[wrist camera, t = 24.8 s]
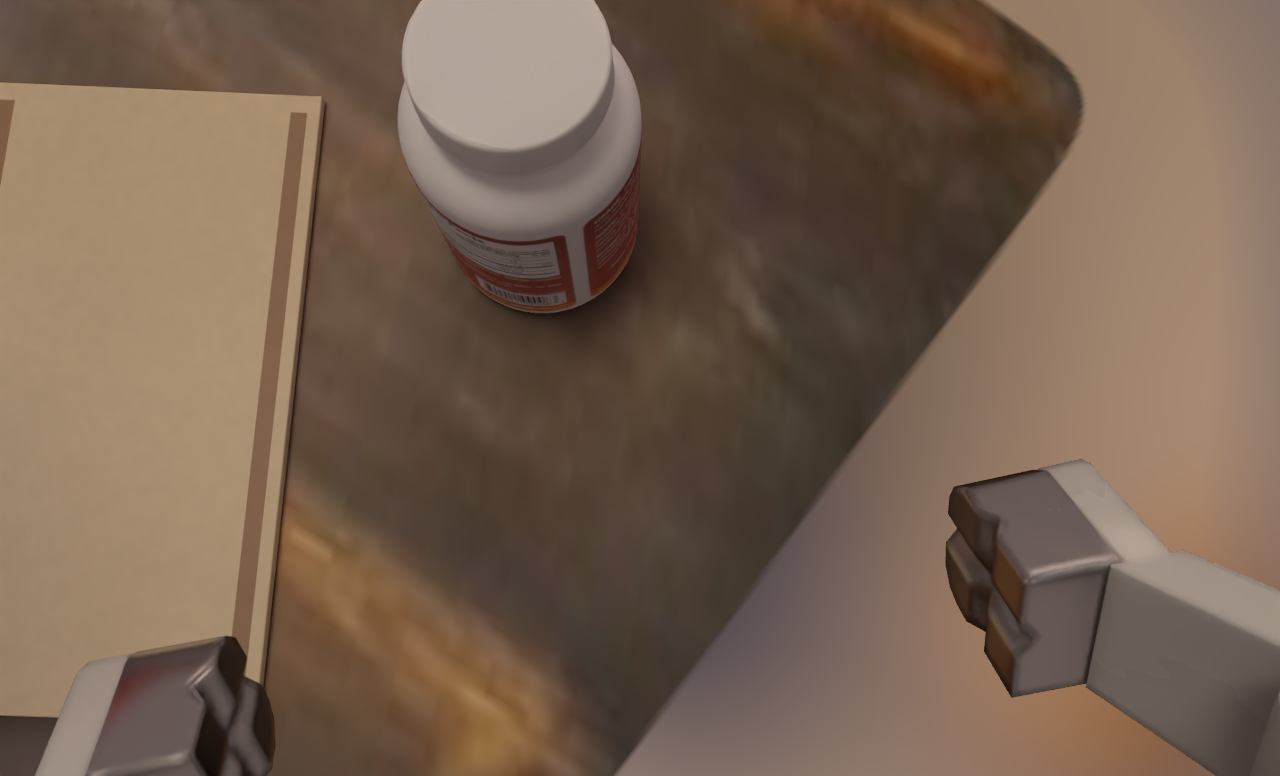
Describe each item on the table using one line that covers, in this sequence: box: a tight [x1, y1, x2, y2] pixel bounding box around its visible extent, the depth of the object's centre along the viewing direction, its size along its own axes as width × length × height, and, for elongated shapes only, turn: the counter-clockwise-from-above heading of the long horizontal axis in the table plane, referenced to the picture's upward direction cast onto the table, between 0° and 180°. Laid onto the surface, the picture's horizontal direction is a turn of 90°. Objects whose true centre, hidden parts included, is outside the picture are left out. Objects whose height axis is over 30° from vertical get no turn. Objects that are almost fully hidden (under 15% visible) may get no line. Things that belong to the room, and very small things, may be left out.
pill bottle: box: [398, 0, 642, 313], centre depth 27 cm, size 6×6×11 cm
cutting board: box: [0, 82, 325, 718], centre depth 31 cm, size 20×11×1 cm, turn 178°
